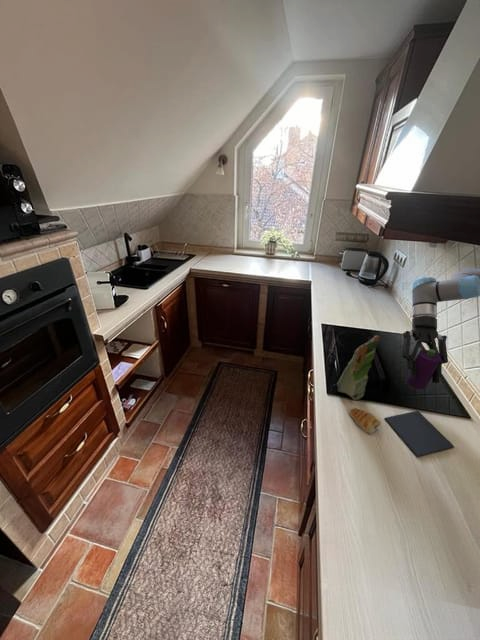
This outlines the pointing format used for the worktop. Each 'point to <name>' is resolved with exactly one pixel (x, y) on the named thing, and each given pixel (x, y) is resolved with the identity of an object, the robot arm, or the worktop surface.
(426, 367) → the aubergine
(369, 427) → the pastry
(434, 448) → the mat
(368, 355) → the pouch
